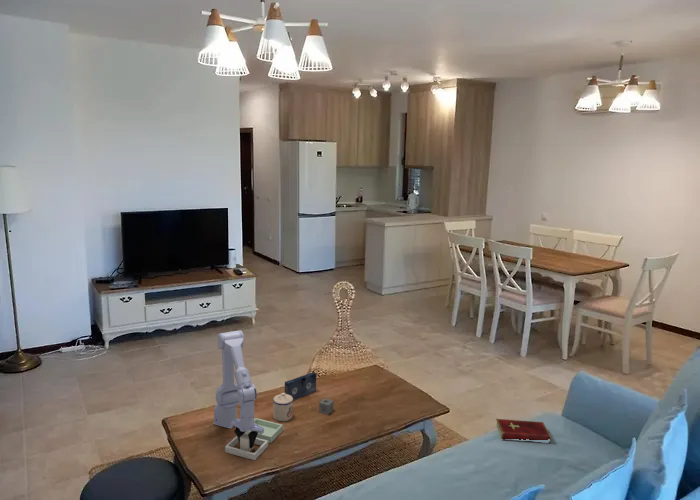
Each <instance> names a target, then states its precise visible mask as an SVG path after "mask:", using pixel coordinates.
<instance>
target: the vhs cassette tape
mask: <svg viewBox="0 0 700 500" xmlns="http://www.w3.org/2000/svg"><path fill="white" fill-rule="evenodd" d="M316 391H317V373H316V372H315V371H313V372H310V373H306V374H305V375H304V374H303V375H301V376H298V377H296V378H293V379H289V380H287V381H285V382H284V393H285V394H288V395H291V396H292V397H293V401H295V400H297V399H298V400H299V399H301V398H302V397H305V396H308V395H310V394H313V393H315V392H316Z"/></svg>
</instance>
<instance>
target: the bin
mask: <svg viewBox="0 0 700 500" xmlns="http://www.w3.org/2000/svg"><path fill="white" fill-rule="evenodd" d="M238 443H239V440H238V437H237V435H236V436H234V438H233V439H231V441H229V442H228V443H227V444H226V445H225V446H224V453H227V454H231V455H234V456H238V457H240V458H244V459H245V458H246V459H248V460H252V461H256V459H258V458H259V457H260V456H261V455H262V453H263V452H264V451H265V450H267V448H269V443H268V441H267V440H263V439H259V438H256V439H255V443H254V445H257V446H260V447H259V448H257V450H255V452H252V451H250V452H248V451H245V450H241V449H240V448H236V447H235V446H236V445H237V444H238Z"/></svg>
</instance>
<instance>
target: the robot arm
mask: <svg viewBox="0 0 700 500" xmlns="http://www.w3.org/2000/svg"><path fill="white" fill-rule="evenodd" d="M244 344H245V335H244V332H243V331H242V330H241V329H238V330H235V331H234V330H233V331H228V332H227V331H226V332H220V333H219V334H218V335H217V349H218V350H221V359H222V360H221V362H222V383H221V384H220V385H219V386H218V387H216V392H215V401H216V404H215V405H214V409H213V422H212V424H213V425H215V426H219V427H224V428H225V429H226V428H227V429H230V430H231V429H233V428H234V427H235V429H234V431H233V432H234V434H235V435H236V436H237V437H238V440H239V442H238V443H239V444H240V437H241V436H242V435H243V434H244V433H245V431H251V432H250V433H249V434H248V437H249V442H250V448H252V447H253V446H254V447H255V444H254V443H255V439H256V437H257V435H258V433H259V434H263V433H264V428H263V427H260V426H259V425H257V424H255V423H254V419H255V400H257V397H258V393H257V388H256V386H255V384H254V382H252V379H251V378H252V377H251V375H250V371H249V369H248V368H247V367H246V366H245V360H244V354H243V351H242V350H243V347H244ZM235 382H236V383H235ZM237 405H239V418H238V415H237V414H238V406H237Z"/></svg>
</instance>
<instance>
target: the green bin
mask: <svg viewBox="0 0 700 500" xmlns="http://www.w3.org/2000/svg"><path fill="white" fill-rule="evenodd" d="M254 423H255V424H257V425H259V426H260V427H263V428H264V433H263V434H259V433H258V435H257V437H256V438H259V439H263V440H267V441H268V444H272V443H273V442H274V441H275V439H277V437H278V436H280V434H281V433H282V432H283V431H284V424H281V423H278V422H273V421H269V420H265V419H262V418H258V417H254ZM245 432H246V433H250V432H251V431H245Z"/></svg>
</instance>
